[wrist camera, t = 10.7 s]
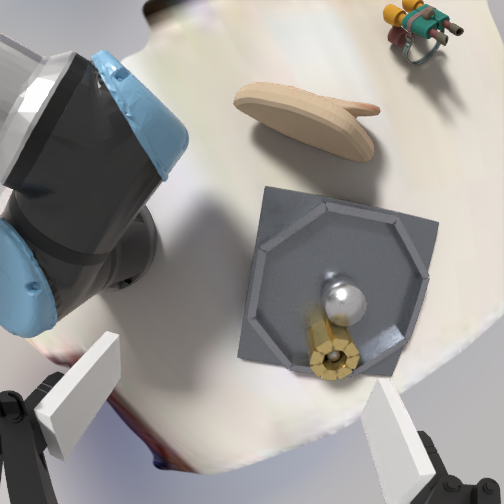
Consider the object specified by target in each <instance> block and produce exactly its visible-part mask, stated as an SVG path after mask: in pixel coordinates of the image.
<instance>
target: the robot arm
mask: <svg viewBox="0 0 504 504" xmlns="http://www.w3.org/2000/svg"><path fill="white" fill-rule="evenodd" d="M188 143H189V135H188V131H187V129H186V127H185V126H184V125H183V123H182V122H181V121H180V120H179V119H178V118H177V117H176V116H175V115H174V114H173V113H172V112H171V111H170V110H169V109H168V108H167V107H166V106H165V105H164V104H163V103H162V102H161V101H160V100H159V99H158V98H157V97H156V96H155V95H154V94H153V93H152V92H151V91H150V90H148V89H147V88H146V87H145V86H144V85H143V84H142V83H141V82H140V81H139V80H138V79H137V78H136V77H135V76H134V75H132V74H131V72H130V71H129V70H127V69H126V68H125V67H124V66H123V65H122V64H121V63H120V62H119V61H118V60H117V59H116V58H115V57H114V56H112V55H111V54H110V53H109V52H108V51H106V50H101V51H99V52H98V53H96V54H93V55H92V57H91V61H89V60H87V59H85V58H84V57H82V56H80V55H79V54H77V53H76V52H74V51H69V52H65V53H61V54H58V55H54V56H51V57H44V56H42V55H40V54H38V53H37V52H35V51H33V50H31V49H30V48H28V47H26V46H24V45H23V44H21V43H19V42H17V41H16V40H14V39H12V38H10V37H8V36H6V35H5V34H2V33H1V32H0V184H2V185H4V186H6V187H9V188H11V189H13V192H12V194H11V196H10V198H9V200H8V203H7V205H6V208H5V210H4V212H3V213H2V214H1V215H0V325H1V326H2V327H3V328H4V329H5V330H7V331H8V332H10V333H12V334H13V335H18V336H20V337H23V338H32V337H35V336H37V335H39V334H41V333H42V332H44V331H46V330H50V329H52V328H53V327H54V326H55V325H56V323H57V322H58V321H60V320H61V319H62V318H64V317H65V316H66V315H68V314H69V313H71V312H72V311H73V310H75V309H76V308H77V307H79V306H80V305H82V304H83V303H84V302H86V301H87V300H88V299H90V298H91V297H93V296H94V295H95V294H97V293H98V292H108V291H118V290H121V289H124V288H127V287H129V286H130V285H132V284H133V283H135V282H136V281H137V280H138V279H140V278H141V277H142V276H143V275H144V274H145V273H146V271H147V270H148V268H149V267H150V265H151V263H152V260H153V257H154V254H155V248H156V232H155V227H154V223H153V220H152V217H151V215H150V213H149V211H148V209H147V207H146V206H145V204H146V203H147V201H148V200H149V198H150V197H151V196H152V194H153V193H154V192H155V191H156V189H157V188H158V187H159V185H160V184H161V183H162V181H164V182H166V180H167V179H168V174H169V172H170V171H171V170H172V168H173V167H174V166H175V164H176V163H177V161H178V160H179V159H180V157H181V156H182V155H183V153H184V152H185V151H186V148H187V146H188ZM121 378H122V374H121V356H120V335H119V334H115V333H112V332H108V331H106V332H105V333H104V334H103V335H102V336H101V337H100V338H99V339H98V340H97V341H96V342H95V343H94V345H93V346H92V347H91V348H90V349H89V350H88V351H87V352H86V353H85V354H84V355H83V356H82V357H81V358H80V359H79V360H78V361H77V362H76V364H75V365H74V366H73V367H72V368H71V369H70V370H69V371H68V372H67V373H66V374H63V373H60V372H56V373H54V374H51V375H49V376H48V377H47V378H46V379H45V380H44V381H43V382H42V384H40V385H39V386H38V387H37V389H35V390H34V391H33V392H32V393H31V394H30V396H28V398H27V399H26V400H25V401H23V398H22V396H21V395H20V394H19V393H17V392H15V391H3V392H1V393H0V482H1V473H2V465H3V462H4V468H5V476H6V482H7V488H8V493H9V498H10V503H11V504H58V503H57V499H56V496H55V493H54V490H53V487H52V483H51V479H50V476H49V472H48V468H47V465H46V461H45V456H44V454H43V451H44V450H45V448H46V447H47V448H48V450H49V453H50V454H51V455H52V456H54V457H56V458H58V459H61V460H63V461H65V462H66V460H67V458H68V457H69V455H70V454H71V452H72V451H73V449H74V448H75V446H76V444H77V443H78V441H79V440H80V438H81V437H82V435H83V434H84V432H85V431H86V429H87V428H88V426H89V425H90V423H91V422H92V420H93V419H94V417H95V416H96V414H97V412H98V411H99V410H100V408H101V407H102V405H103V404H104V402H105V401H106V399H107V398H108V397H109V395H110V394H111V392H112V391H113V389H114V388H115V386H116V385H117V383H118V382H119V380H120V379H121ZM360 418H361V421H362V424H363V428H364V431H365V434H366V437H367V440H368V444H369V447H370V451H371V454H372V457H373V461H374V464H375V468H376V471H377V475H378V478H379V482H380V485H381V489H382V493H383V496H384V500H385V504H501V498H500V487H499V485H498V483H497V482H496V481H495V480H493V479H491V478H483V479H481V480H480V481H479V482H478V484H477V485H465V484H462V482H461V481H460V479H458V478H457V477H455V476H453V475H448V473H447V471H446V468H445V466H444V464H443V462H442V460H441V458H440V456H439V454H438V453H437V450H436V448H435V447H434V444H433V442H432V440H431V438H430V437H429V436H428V435H427V434H426V433H425V432H424V431H416V429H415V427H414V425H413V422H412V420H411V418H410V416H409V414H408V412H407V410H406V408H405V406H404V404H403V402H402V400H401V398H400V396H399V394H398V392H397V390H396V388H395V386H394V384H393V382H392V380H391V379H387V378H378V379H377V381H376V383H375V386H374V388H373V390H372V392H371V395H370V397H369V399H368V401H367V403H366V406H365V408H364V410H363V412H362V414H361V416H360Z"/></svg>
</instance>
